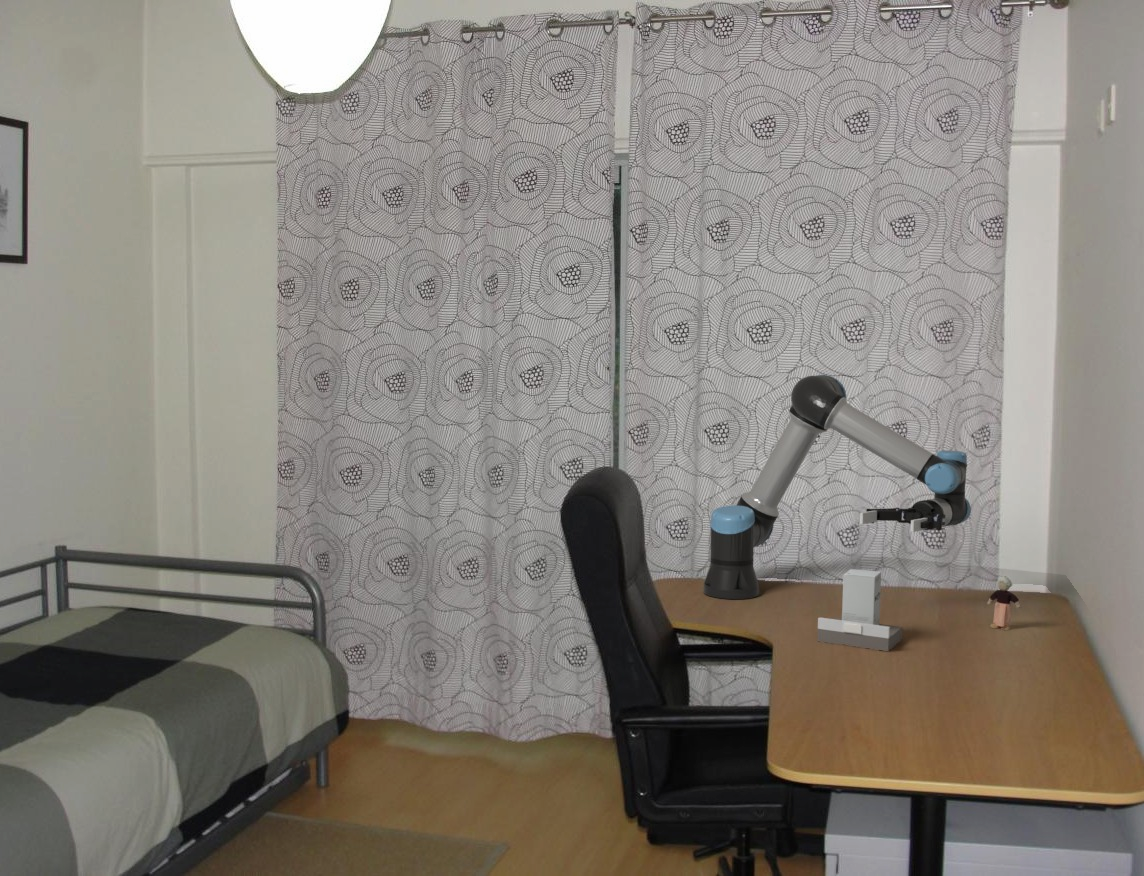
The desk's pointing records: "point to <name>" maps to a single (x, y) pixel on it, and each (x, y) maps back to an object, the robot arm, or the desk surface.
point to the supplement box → (861, 596)
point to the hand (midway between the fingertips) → (886, 522)
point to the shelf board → (858, 634)
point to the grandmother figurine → (1003, 604)
